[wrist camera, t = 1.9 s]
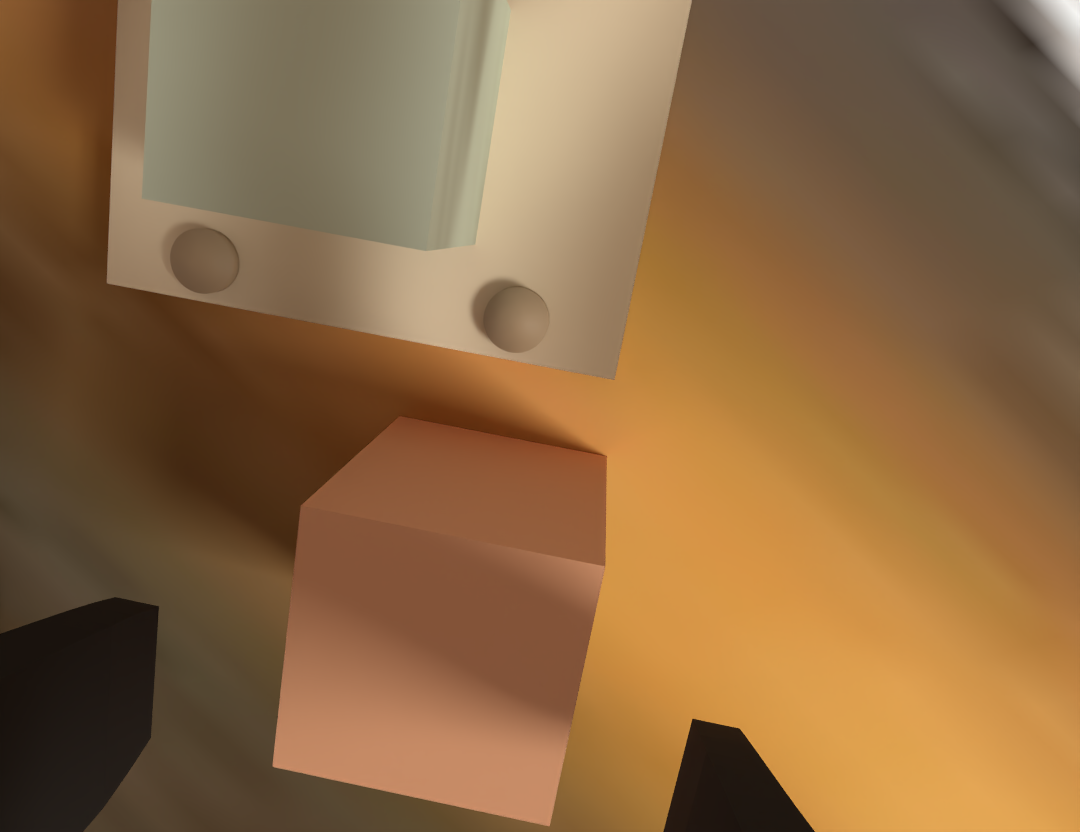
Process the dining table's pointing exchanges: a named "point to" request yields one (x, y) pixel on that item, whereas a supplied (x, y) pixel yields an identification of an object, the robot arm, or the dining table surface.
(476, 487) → the terracotta block
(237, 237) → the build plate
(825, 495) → the dining table surface
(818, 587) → the dining table surface
